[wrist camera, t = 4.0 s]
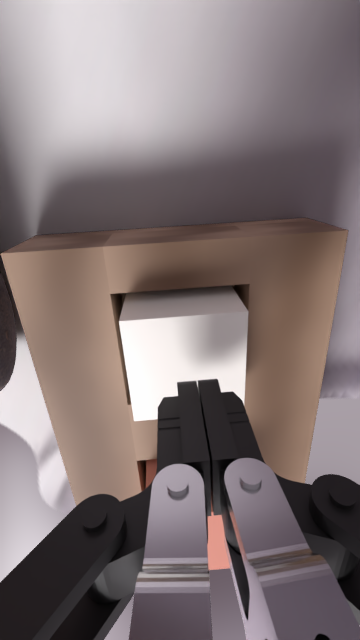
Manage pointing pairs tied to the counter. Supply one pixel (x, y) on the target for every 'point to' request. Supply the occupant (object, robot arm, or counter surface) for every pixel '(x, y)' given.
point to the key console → (165, 274)
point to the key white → (182, 343)
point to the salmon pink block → (215, 529)
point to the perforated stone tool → (6, 336)
